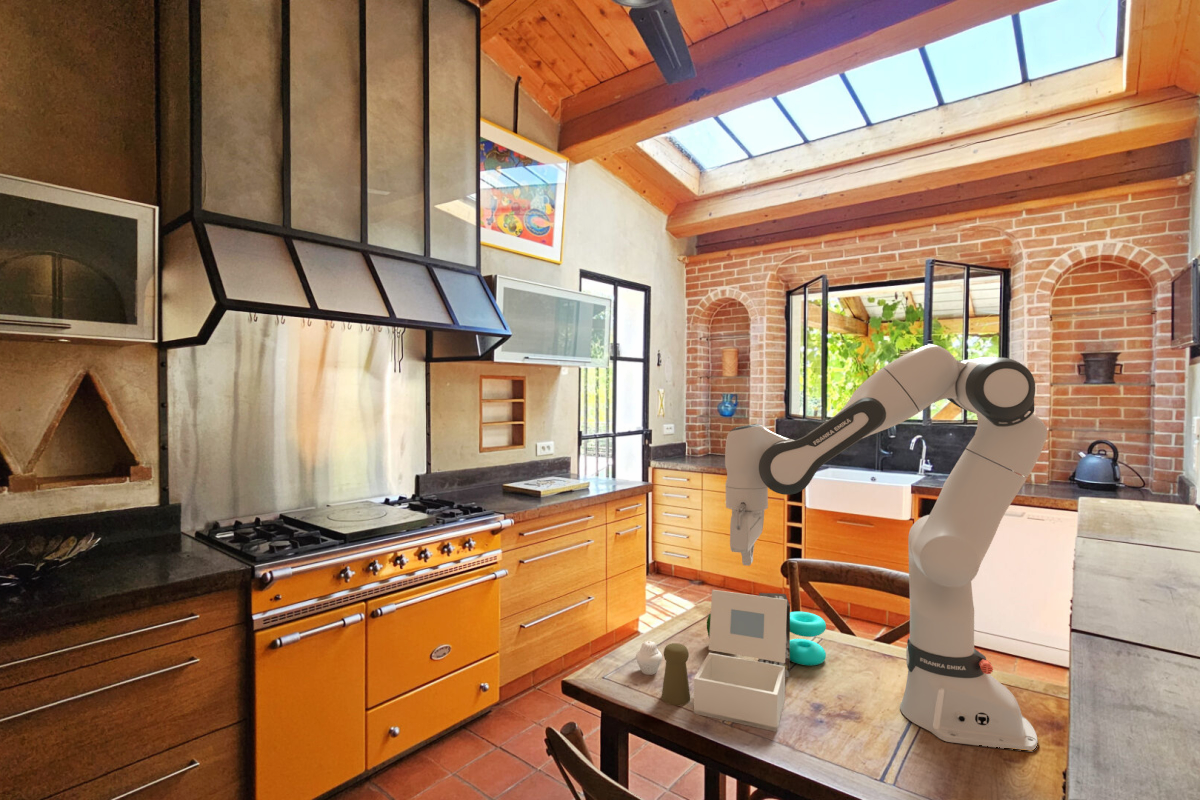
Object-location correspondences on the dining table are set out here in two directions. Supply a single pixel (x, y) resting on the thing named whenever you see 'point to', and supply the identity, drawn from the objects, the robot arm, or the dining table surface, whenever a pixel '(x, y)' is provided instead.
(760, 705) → the base
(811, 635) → the donuts
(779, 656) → the mailer lid
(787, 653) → the coffee box
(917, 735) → the dining table surface
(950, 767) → the dining table surface
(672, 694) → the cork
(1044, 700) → the dining table surface
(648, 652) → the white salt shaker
